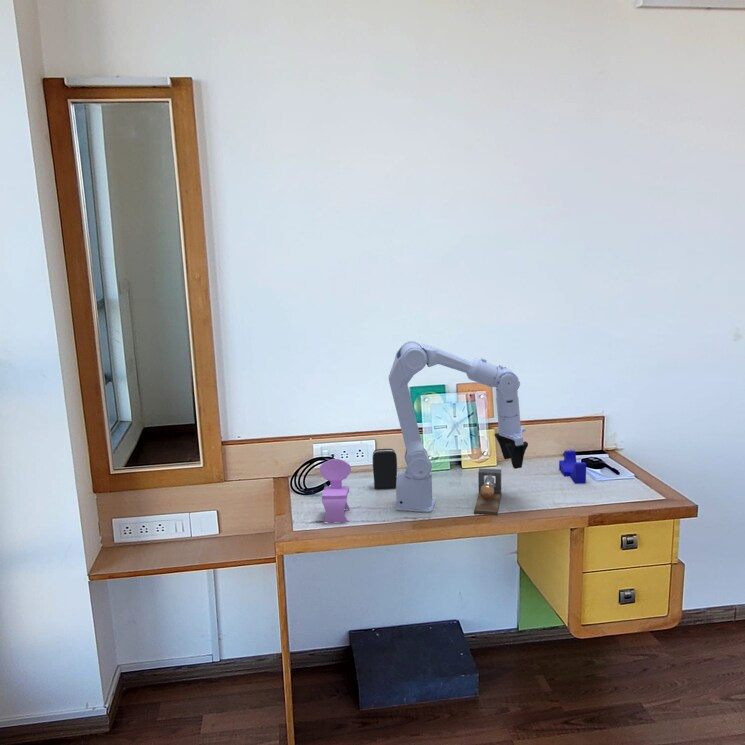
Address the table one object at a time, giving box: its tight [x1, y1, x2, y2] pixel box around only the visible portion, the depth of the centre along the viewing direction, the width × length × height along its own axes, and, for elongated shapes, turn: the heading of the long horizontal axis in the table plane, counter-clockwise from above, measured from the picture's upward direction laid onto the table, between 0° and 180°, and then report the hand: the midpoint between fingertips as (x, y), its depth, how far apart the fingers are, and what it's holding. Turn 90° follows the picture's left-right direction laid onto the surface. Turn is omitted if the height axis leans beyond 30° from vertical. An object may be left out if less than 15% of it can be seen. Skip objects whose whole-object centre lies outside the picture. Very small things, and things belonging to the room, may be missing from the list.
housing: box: [477, 468, 502, 495], centre depth 193 cm, size 3×6×6 cm, turn 76°
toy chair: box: [318, 458, 352, 523], centre depth 182 cm, size 8×9×15 cm
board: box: [473, 492, 502, 516], centre depth 188 cm, size 15×6×1 cm, turn 166°
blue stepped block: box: [558, 449, 587, 485], centre depth 204 cm, size 12×4×6 cm, turn 0°
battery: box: [372, 448, 398, 490], centre depth 201 cm, size 7×4×11 cm, turn 93°
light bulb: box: [480, 476, 495, 500], centre depth 188 cm, size 10×4×4 cm, turn 166°
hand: (512, 463), depth 187 cm, fingers open, 7 cm apart
